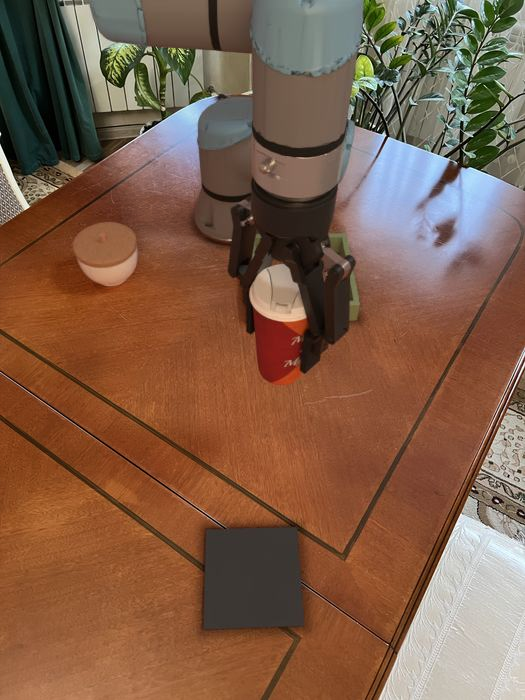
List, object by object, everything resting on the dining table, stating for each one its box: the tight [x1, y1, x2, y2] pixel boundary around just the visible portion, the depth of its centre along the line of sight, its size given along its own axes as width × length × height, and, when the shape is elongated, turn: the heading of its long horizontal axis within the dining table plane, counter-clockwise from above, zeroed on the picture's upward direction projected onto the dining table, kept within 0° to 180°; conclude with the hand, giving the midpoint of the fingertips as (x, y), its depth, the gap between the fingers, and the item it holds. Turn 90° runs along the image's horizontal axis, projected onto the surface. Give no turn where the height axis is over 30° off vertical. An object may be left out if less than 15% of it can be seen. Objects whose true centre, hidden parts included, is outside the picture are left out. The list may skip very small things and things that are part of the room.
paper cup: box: [249, 263, 310, 386], centre depth 65 cm, size 8×8×14 cm
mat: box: [202, 526, 305, 631], centre depth 72 cm, size 12×12×1 cm
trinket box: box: [72, 221, 139, 287], centre depth 100 cm, size 11×11×9 cm
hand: (282, 345), depth 67 cm, fingers closed on paper cup, 8 cm apart
